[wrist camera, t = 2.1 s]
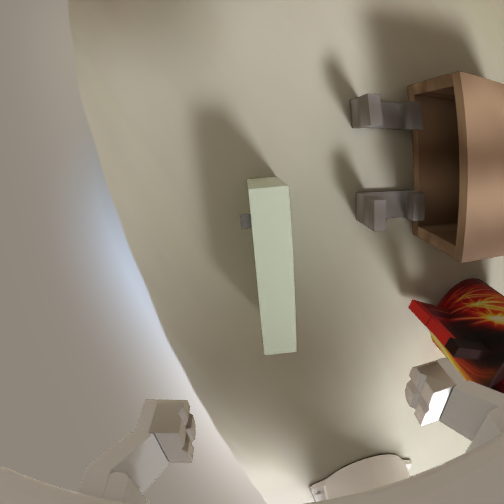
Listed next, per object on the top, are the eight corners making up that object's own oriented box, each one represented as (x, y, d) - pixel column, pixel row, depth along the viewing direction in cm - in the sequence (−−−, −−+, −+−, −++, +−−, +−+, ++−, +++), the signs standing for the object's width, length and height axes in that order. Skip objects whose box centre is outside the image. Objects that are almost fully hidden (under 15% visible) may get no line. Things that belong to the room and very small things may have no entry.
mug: (403, 295, 29) (467, 363, 17) (493, 271, 29) (559, 315, 17) (395, 366, 32) (439, 438, 21) (480, 336, 32) (531, 388, 20)
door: (285, 307, 29) (296, 351, 22) (252, 310, 29) (254, 356, 22) (276, 176, 25) (288, 185, 18) (238, 179, 25) (236, 190, 18)
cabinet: (493, 226, 27) (541, 248, 19) (356, 239, 27) (395, 273, 19) (492, 102, 22) (544, 100, 15) (347, 81, 22) (388, 57, 15)
